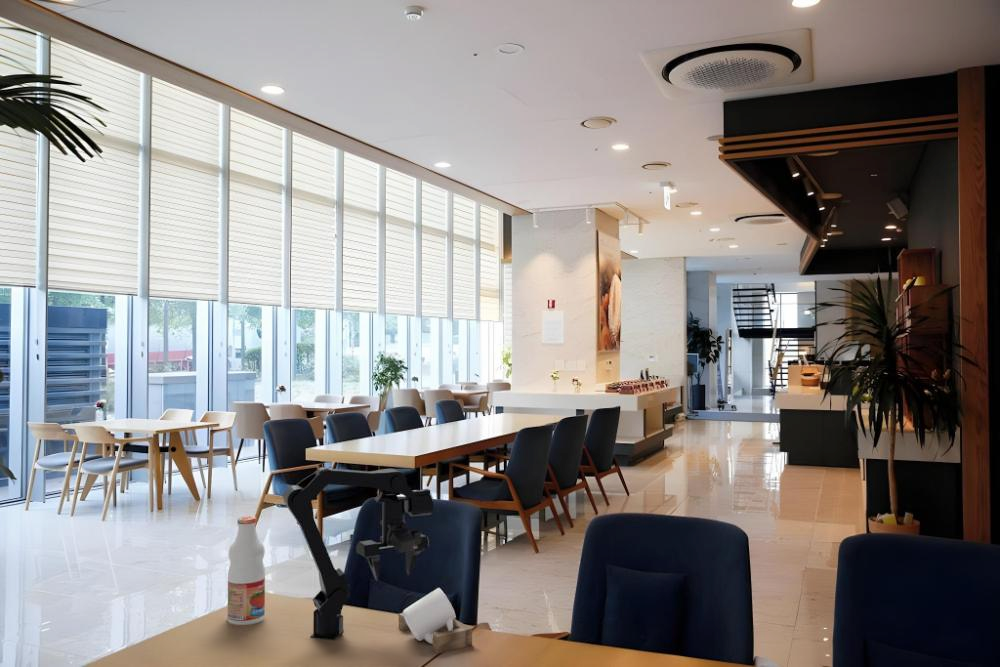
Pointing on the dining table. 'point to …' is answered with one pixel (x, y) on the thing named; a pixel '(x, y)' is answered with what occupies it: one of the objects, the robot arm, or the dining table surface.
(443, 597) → the mug
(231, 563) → the fruit juice
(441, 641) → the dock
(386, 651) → the dining table surface
